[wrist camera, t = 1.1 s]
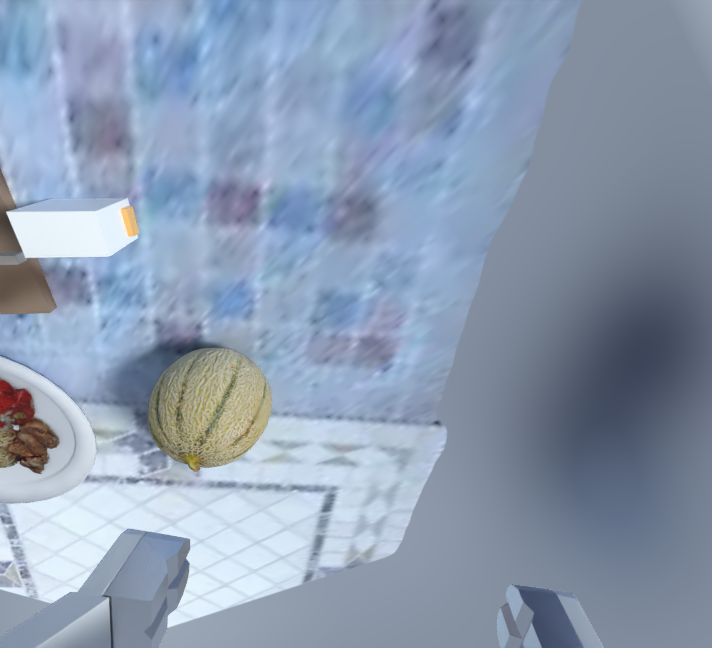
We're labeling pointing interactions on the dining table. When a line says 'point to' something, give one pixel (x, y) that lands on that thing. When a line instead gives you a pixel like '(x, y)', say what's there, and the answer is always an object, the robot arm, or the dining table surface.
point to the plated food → (40, 437)
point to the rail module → (74, 227)
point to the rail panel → (19, 269)
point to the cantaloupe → (209, 407)
